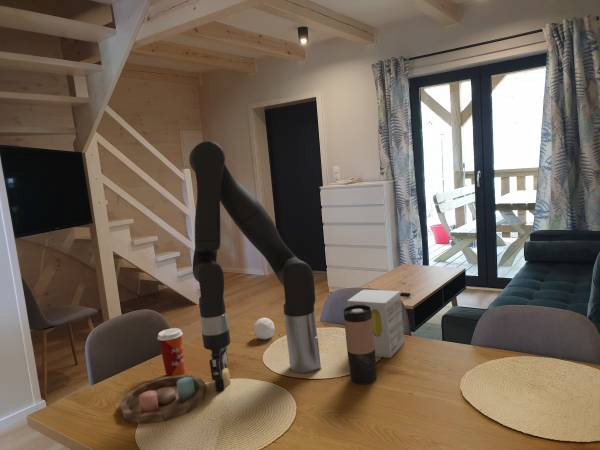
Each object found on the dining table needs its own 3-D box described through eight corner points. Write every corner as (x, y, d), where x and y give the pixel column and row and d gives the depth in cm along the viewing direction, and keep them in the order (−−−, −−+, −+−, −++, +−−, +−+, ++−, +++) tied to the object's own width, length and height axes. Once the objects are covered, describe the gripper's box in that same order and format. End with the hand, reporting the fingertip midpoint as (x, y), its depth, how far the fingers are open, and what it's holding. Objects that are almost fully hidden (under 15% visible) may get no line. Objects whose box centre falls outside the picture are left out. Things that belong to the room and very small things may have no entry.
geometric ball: (260, 345, 166) (250, 326, 169) (279, 334, 167) (269, 315, 170) (258, 342, 159) (247, 322, 162) (278, 330, 160) (267, 311, 163)
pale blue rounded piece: (197, 393, 125) (194, 376, 124) (193, 401, 121) (191, 383, 120) (181, 395, 125) (178, 378, 124) (177, 403, 121) (174, 385, 120)
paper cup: (181, 379, 137) (175, 335, 136) (158, 380, 139) (152, 336, 137) (192, 368, 145) (186, 326, 143) (170, 368, 146) (164, 327, 145)
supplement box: (351, 353, 143) (345, 300, 141) (367, 338, 154) (362, 288, 152) (390, 358, 136) (386, 302, 134) (405, 342, 147) (400, 290, 145)
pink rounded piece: (161, 407, 119) (158, 389, 119) (156, 416, 115) (153, 397, 114) (144, 409, 119) (141, 391, 119) (139, 418, 115) (136, 399, 114)
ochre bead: (231, 383, 131) (229, 367, 131) (229, 390, 127) (227, 373, 126) (216, 385, 131) (214, 368, 131) (214, 392, 127) (211, 375, 126)
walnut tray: (212, 381, 134) (211, 371, 134) (196, 421, 112) (195, 410, 112) (138, 389, 134) (137, 379, 133) (109, 431, 112) (107, 420, 112)
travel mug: (380, 373, 127) (374, 305, 125) (373, 386, 120) (366, 314, 118) (354, 371, 130) (348, 304, 128) (346, 383, 123) (339, 313, 121)
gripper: (224, 337, 120) (232, 396, 122) (231, 319, 134) (238, 372, 136) (196, 340, 120) (204, 399, 122) (206, 322, 134) (213, 375, 136)
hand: (222, 385), depth 129 cm, fingers open, 6 cm apart
